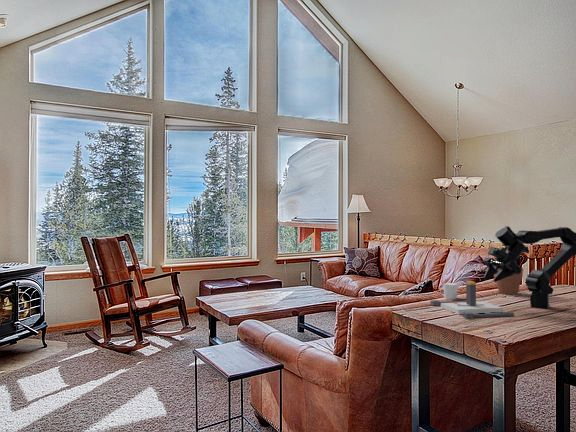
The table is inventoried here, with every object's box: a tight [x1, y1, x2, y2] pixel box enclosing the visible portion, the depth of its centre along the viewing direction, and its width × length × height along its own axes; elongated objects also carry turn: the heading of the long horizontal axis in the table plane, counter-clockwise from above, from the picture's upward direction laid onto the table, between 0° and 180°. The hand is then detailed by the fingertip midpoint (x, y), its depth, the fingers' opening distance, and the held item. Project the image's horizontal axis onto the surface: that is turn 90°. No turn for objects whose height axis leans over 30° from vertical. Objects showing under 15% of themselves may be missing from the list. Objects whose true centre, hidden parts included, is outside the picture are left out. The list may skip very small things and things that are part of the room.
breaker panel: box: [440, 300, 504, 315], centre depth 186 cm, size 20×14×2 cm
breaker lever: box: [465, 280, 477, 305], centre depth 186 cm, size 2×3×10 cm
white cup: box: [442, 282, 459, 300], centre depth 214 cm, size 7×7×7 cm
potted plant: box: [493, 246, 524, 296], centre depth 227 cm, size 14×14×25 cm
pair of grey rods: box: [430, 299, 515, 320], centre depth 186 cm, size 21×28×2 cm
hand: (489, 280), depth 188 cm, fingers open, 6 cm apart
